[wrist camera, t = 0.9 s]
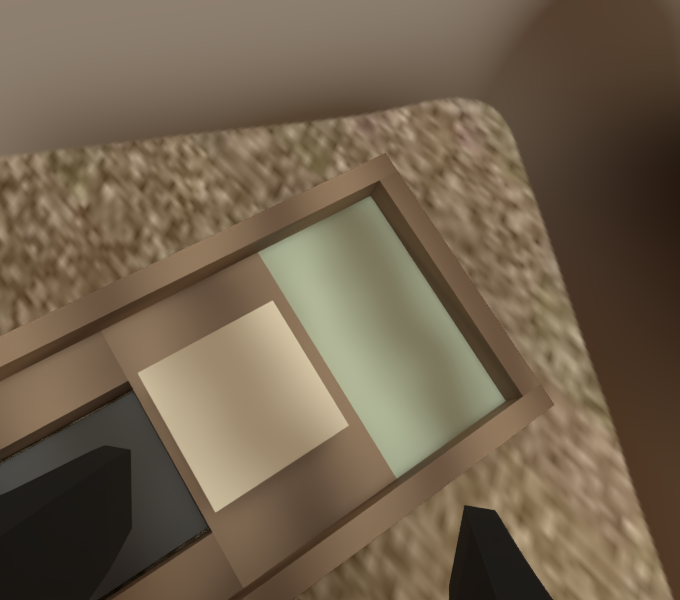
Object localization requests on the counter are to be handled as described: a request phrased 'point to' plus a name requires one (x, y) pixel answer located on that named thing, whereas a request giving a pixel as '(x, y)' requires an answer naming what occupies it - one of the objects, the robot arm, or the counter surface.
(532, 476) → the counter surface
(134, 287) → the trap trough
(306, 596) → the counter surface
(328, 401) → the birch block
